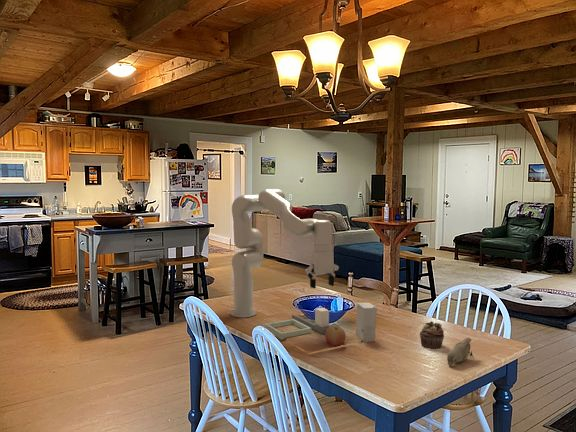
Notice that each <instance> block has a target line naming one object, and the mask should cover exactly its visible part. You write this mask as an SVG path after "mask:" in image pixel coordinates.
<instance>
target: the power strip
mask: <svg viewBox="0 0 576 432" xmlns="http://www.w3.org/2000/svg"><path fill="white" fill-rule="evenodd" d="M304 314H305V313H299V314H296V315H294V314H292V315H291V317H292V319H294V320H296V321H298V322H300V323H302V324H304V325H306V326H308V327H310V328H311V330H313V331H315V332H317V333H319V334H321V335H325V333H326V330H327V329H328V328H329V327H330V326H332V325H331V324H330V323H329V326H325V327H320V326H318V325H316V324H315V320H311V319H309V318H307V317H306V316H305V315H304Z"/></svg>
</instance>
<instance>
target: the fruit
mask: <svg viewBox="0 0 576 432" xmlns="http://www.w3.org/2000/svg"><path fill="white" fill-rule="evenodd" d="M324 336H325V340H326V342H327V343H328V344H329V345H331V346H334V347H336V348H337V347H340V346H342V345H343V344H344V343H345V341H346V339H347V338H346V336H347V335H346V332H345V330H344V329H343V328H342V327H341V326H339V325H336V324H334V325H332V326H330V327H329V328H328V329H327V330H326V333H325V334H324Z"/></svg>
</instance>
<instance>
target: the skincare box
mask: <svg viewBox="0 0 576 432" xmlns="http://www.w3.org/2000/svg"><path fill="white" fill-rule="evenodd" d="M377 309H378V308H377V307H376V306H375V305H373V304H372V303H370V302H357V306H356V324H355V335H356V336H358V337H359V338H360V339H361V342H362V343H367V342H375V341H376V326H377V313H378V312H377V311H378V310H377Z"/></svg>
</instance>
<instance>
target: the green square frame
mask: <svg viewBox="0 0 576 432" xmlns="http://www.w3.org/2000/svg"><path fill="white" fill-rule="evenodd" d="M291 325H293V326H295V327H297V328H299V329H295V330H294V329H293V330H289V331H283V332H282V331H280V330H279V329H277V328H279V327H284V326H285V327H286V326H291ZM265 328H267V329H268V330H269V331H270V332H272V333H273V334H274V335H275V336H276V337H277V339H278V340H280V341H286V340H288V339H287V338H292V337H296V336H301V335H307V334H312V329H311V328H310V327H308V326H306V325H304V324H302V323H300V322H298V321H296V320H294V318H292V319H287V320H286V319H285V320H280V321H275V322H269V323H265V324H264V329H265ZM275 336H274V337H275ZM276 337H275V338H276Z"/></svg>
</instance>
